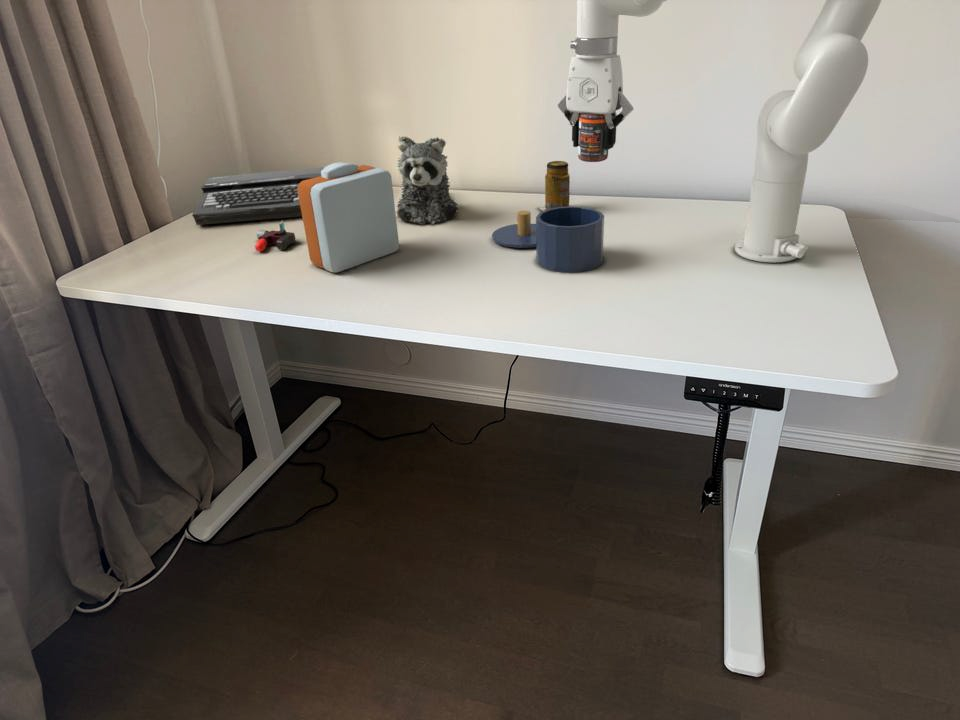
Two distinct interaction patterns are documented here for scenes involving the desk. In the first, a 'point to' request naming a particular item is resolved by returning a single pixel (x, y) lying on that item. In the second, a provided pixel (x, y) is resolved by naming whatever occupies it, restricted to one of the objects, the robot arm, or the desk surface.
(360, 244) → the alarm clock
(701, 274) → the desk surface
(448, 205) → the raccoon plush
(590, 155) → the supplement bottle
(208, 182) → the vintage computer
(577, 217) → the tin
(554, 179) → the condiment
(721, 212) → the desk surface
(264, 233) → the toy gun
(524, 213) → the tin lid
